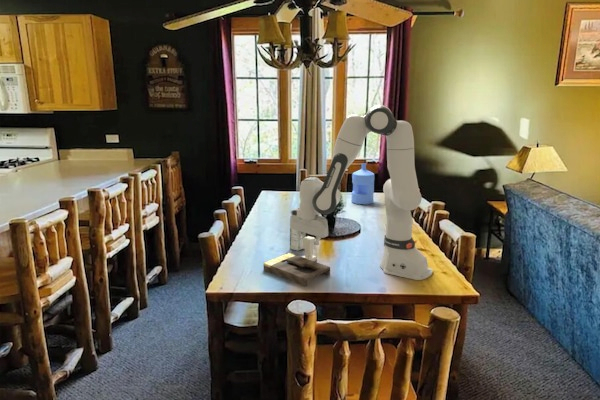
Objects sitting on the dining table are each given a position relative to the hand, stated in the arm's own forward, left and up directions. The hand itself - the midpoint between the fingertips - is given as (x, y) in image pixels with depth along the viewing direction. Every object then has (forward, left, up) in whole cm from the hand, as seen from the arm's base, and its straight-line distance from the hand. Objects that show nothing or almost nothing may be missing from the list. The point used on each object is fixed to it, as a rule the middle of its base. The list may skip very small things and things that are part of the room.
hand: (308, 242), depth 191 cm
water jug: (+43, -109, -9) cm, 118 cm away
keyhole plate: (-5, +14, -9) cm, 17 cm away
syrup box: (+14, -8, -9) cm, 18 cm away
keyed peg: (0, 0, -9) cm, 9 cm away
